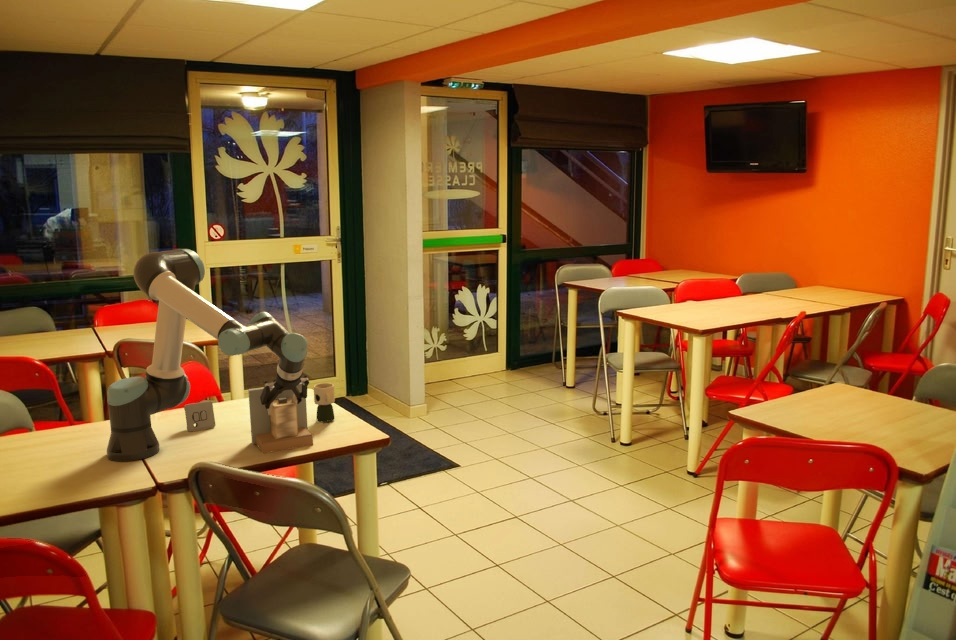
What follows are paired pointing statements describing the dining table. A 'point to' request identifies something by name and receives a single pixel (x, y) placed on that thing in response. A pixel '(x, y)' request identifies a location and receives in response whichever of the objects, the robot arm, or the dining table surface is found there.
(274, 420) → the tan canister
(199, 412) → the electrical switch
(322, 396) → the character mug
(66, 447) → the dining table surface
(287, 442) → the grey panel display stand
